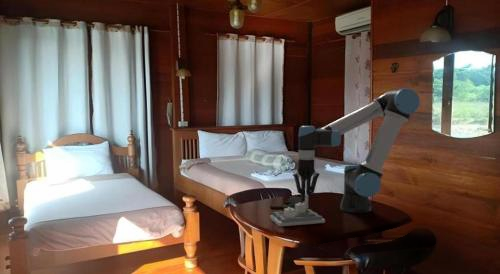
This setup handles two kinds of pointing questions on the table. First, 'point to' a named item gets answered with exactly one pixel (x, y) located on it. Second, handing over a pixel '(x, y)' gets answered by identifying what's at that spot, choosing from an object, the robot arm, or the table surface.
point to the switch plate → (297, 218)
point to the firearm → (290, 202)
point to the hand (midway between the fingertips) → (305, 208)
